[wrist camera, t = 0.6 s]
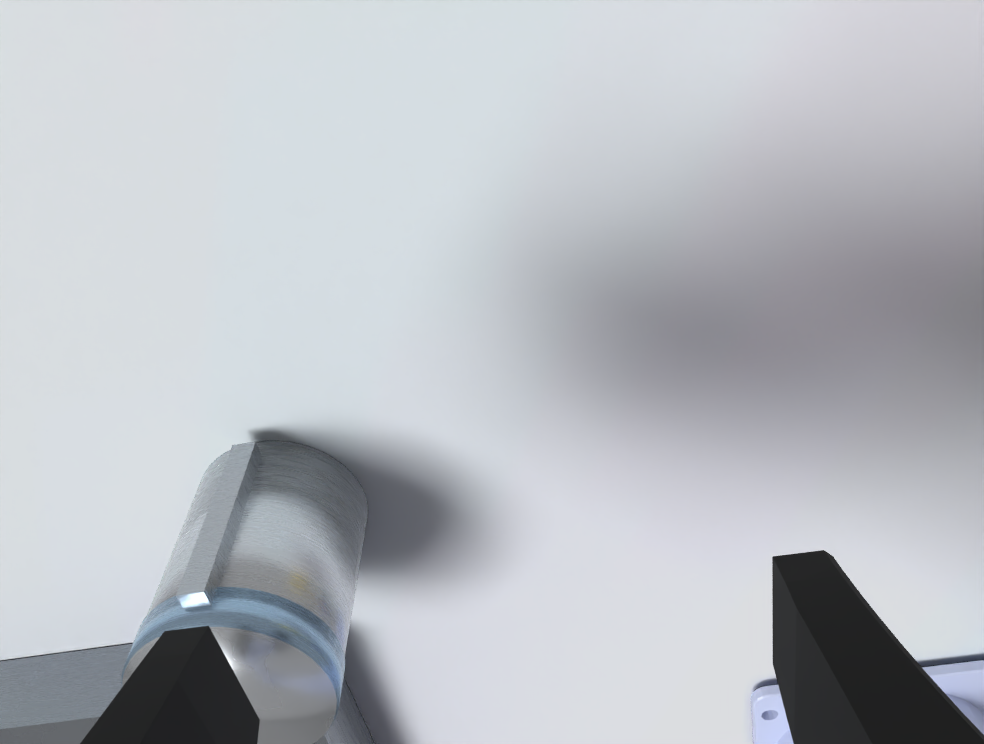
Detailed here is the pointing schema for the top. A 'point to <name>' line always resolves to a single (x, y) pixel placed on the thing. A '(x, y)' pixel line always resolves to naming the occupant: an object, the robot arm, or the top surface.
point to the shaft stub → (269, 580)
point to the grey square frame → (98, 698)
